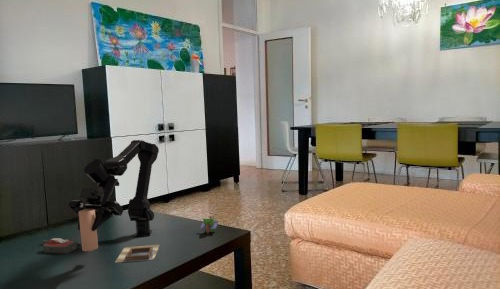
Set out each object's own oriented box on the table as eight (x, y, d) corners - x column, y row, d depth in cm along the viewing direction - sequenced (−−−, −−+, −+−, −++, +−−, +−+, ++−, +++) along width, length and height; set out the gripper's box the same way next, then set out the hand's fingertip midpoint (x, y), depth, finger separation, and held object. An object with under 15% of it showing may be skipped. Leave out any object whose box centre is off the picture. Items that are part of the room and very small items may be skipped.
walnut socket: (130, 252, 134) (130, 248, 134) (152, 250, 135) (152, 246, 135) (125, 261, 126) (125, 257, 126) (149, 259, 127) (148, 255, 127)
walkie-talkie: (85, 246, 147) (44, 243, 153) (84, 235, 147) (43, 233, 153) (69, 255, 139) (26, 251, 145) (68, 243, 139) (25, 240, 144)
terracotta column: (84, 246, 128) (80, 209, 127) (99, 244, 129) (96, 208, 128) (80, 251, 123) (76, 213, 122) (96, 250, 124) (92, 212, 123)
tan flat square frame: (124, 250, 140) (124, 247, 140) (160, 247, 141) (159, 244, 141) (114, 266, 125) (114, 262, 125) (153, 263, 127) (153, 259, 126)
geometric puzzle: (213, 232, 150) (216, 213, 154) (197, 231, 151) (200, 213, 155) (218, 237, 156) (220, 219, 160) (202, 237, 157) (205, 219, 161)
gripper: (69, 177, 130) (47, 217, 121) (115, 177, 125) (96, 219, 116) (86, 194, 139) (67, 233, 129) (130, 195, 134) (114, 235, 124)
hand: (85, 230), depth 124 cm, fingers closed on terracotta column, 5 cm apart
